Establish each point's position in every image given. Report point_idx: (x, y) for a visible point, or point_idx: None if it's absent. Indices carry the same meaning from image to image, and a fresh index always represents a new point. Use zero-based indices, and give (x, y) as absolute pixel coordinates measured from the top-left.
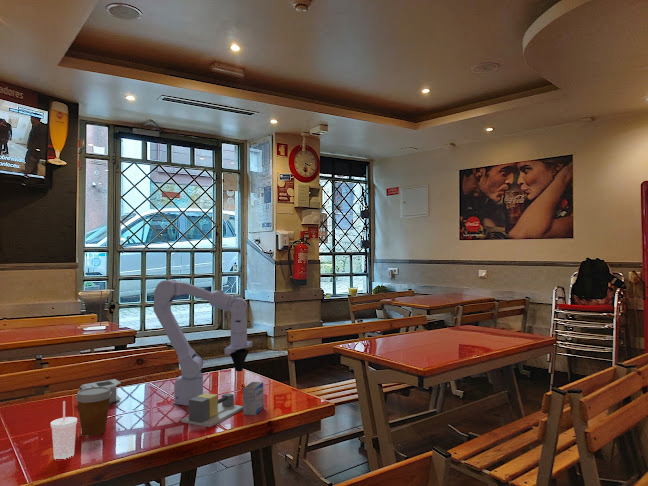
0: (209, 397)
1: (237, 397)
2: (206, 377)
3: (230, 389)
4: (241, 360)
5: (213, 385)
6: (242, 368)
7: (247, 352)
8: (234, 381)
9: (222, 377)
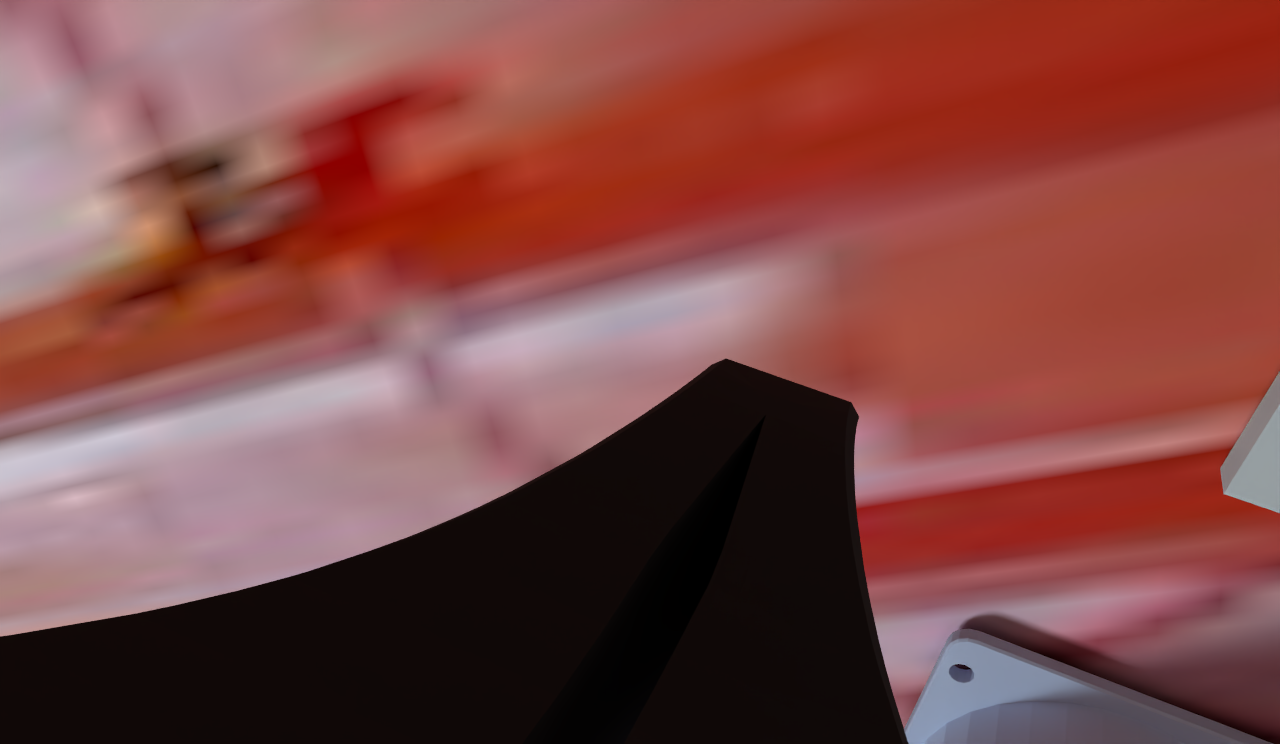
0: None
1: (729, 212)
2: None
3: (367, 419)
4: (837, 693)
5: None
6: (737, 395)
7: (119, 736)
8: (56, 439)
9: (5, 595)
